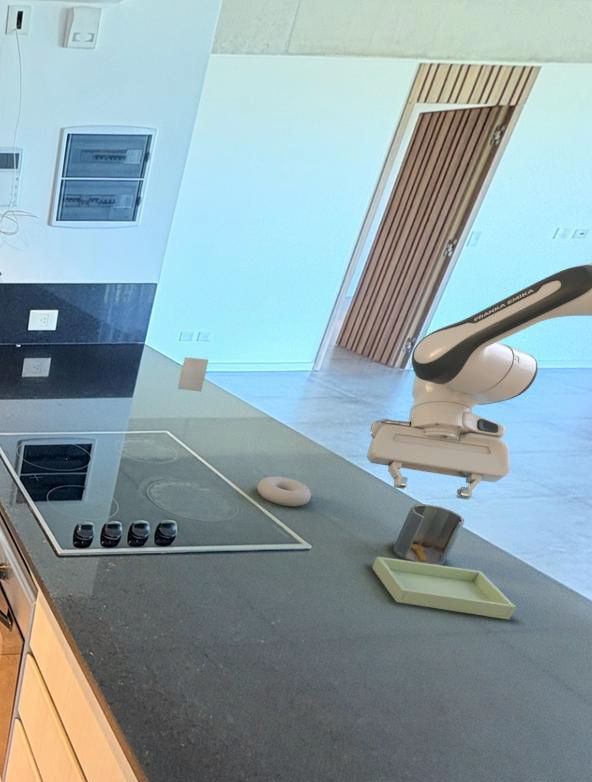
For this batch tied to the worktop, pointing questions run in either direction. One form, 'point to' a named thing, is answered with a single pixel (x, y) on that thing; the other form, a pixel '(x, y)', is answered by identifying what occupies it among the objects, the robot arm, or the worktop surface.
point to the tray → (442, 587)
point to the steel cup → (428, 533)
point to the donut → (284, 491)
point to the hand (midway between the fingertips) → (431, 492)
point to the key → (419, 551)
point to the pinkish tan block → (193, 374)
